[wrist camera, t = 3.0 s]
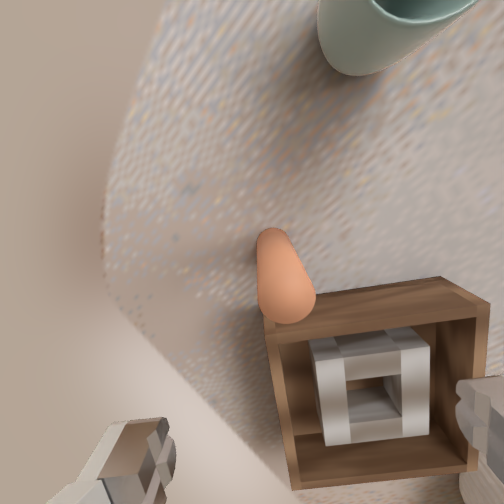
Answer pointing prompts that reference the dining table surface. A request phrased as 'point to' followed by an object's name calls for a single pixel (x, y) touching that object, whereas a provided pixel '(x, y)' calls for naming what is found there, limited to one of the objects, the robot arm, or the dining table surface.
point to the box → (377, 382)
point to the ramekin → (481, 485)
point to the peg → (282, 279)
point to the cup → (381, 30)
